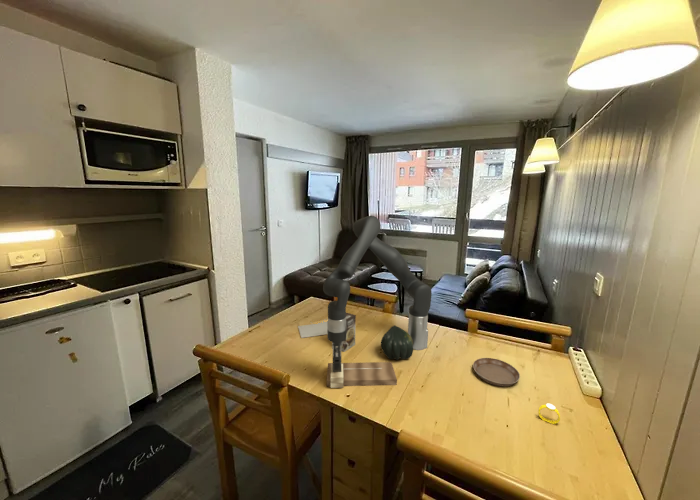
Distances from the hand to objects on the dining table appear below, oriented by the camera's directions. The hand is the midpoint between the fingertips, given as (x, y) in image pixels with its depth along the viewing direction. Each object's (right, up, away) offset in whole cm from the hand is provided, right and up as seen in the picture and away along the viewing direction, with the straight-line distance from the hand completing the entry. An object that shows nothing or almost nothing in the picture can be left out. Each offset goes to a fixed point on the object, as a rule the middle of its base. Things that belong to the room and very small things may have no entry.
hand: (337, 366), depth 118 cm
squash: (+27, -3, +19) cm, 33 cm away
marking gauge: (0, -6, 0) cm, 6 cm away
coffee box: (+3, -1, +27) cm, 27 cm away
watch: (+73, -11, -19) cm, 76 cm away
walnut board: (+10, -6, +4) cm, 12 cm away
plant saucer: (+67, -6, +5) cm, 67 cm away
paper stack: (-12, +3, +49) cm, 50 cm away
